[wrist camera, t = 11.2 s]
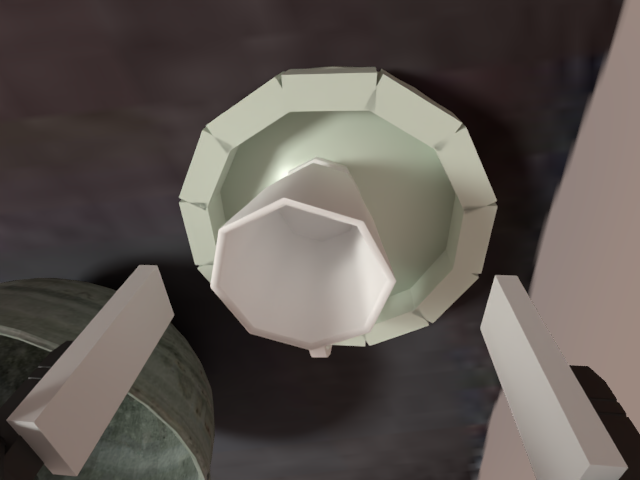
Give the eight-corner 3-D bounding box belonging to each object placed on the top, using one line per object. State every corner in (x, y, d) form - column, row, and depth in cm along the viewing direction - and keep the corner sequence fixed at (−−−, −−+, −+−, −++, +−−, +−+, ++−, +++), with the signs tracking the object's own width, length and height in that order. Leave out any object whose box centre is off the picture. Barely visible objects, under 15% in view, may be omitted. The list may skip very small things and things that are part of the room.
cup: (383, 125, 18) (395, 190, 11) (387, 285, 23) (397, 398, 16) (246, 137, 19) (180, 205, 12) (279, 288, 24) (246, 396, 17)
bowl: (237, 431, 35) (197, 562, 27) (21, 379, 34) (-92, 498, 26) (274, 263, 24) (227, 395, 16) (-41, 180, 23) (-271, 273, 15)
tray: (176, 69, 19) (146, 78, 16) (505, 61, 17) (530, 68, 14) (228, 308, 27) (214, 338, 24) (452, 317, 25) (462, 351, 23)
